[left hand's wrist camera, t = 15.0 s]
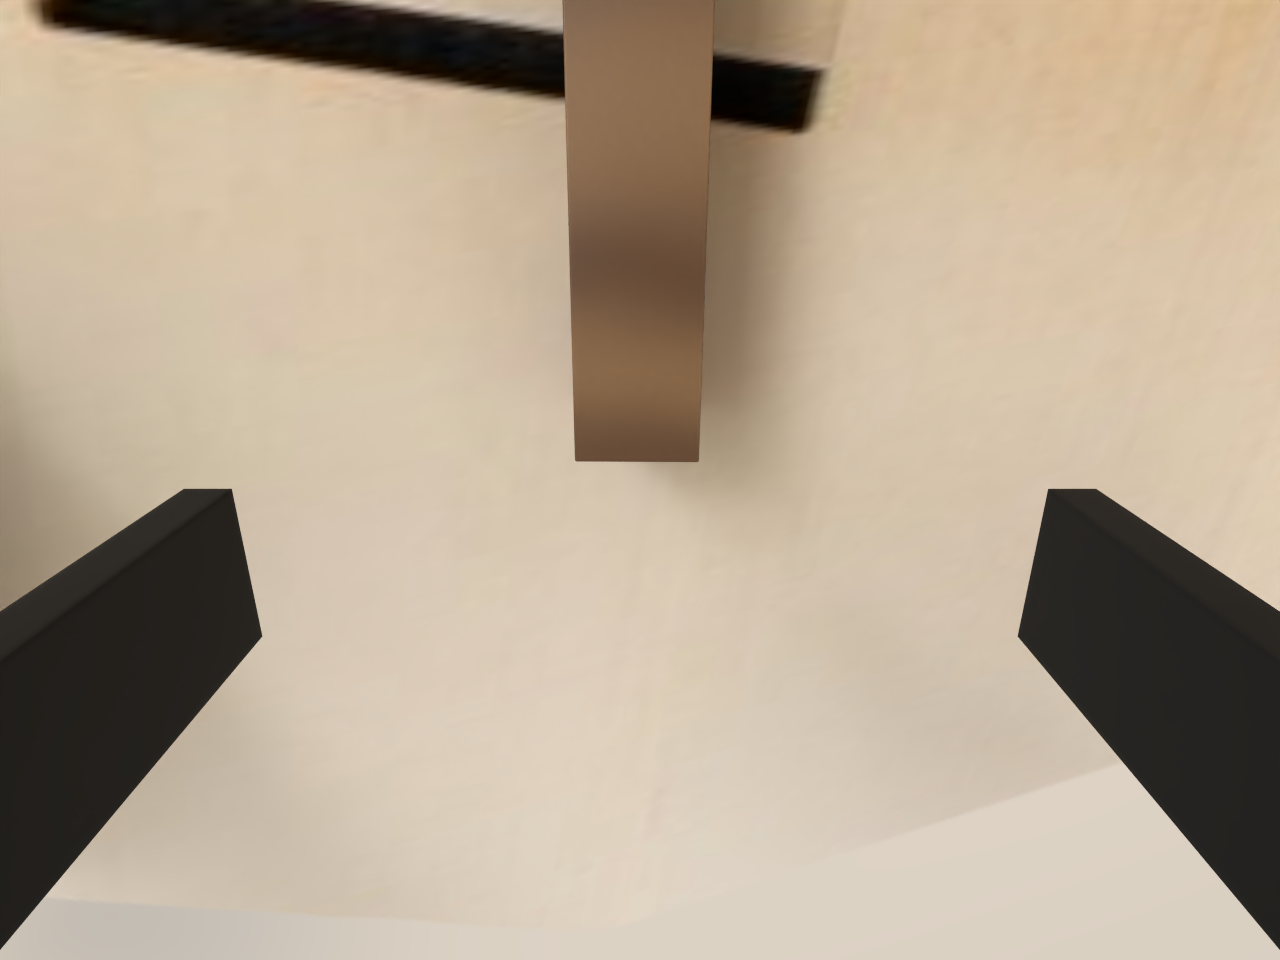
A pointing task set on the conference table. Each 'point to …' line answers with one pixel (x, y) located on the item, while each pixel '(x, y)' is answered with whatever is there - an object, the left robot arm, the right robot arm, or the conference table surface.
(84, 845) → the left robot arm
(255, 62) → the conference table surface
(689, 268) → the bar
